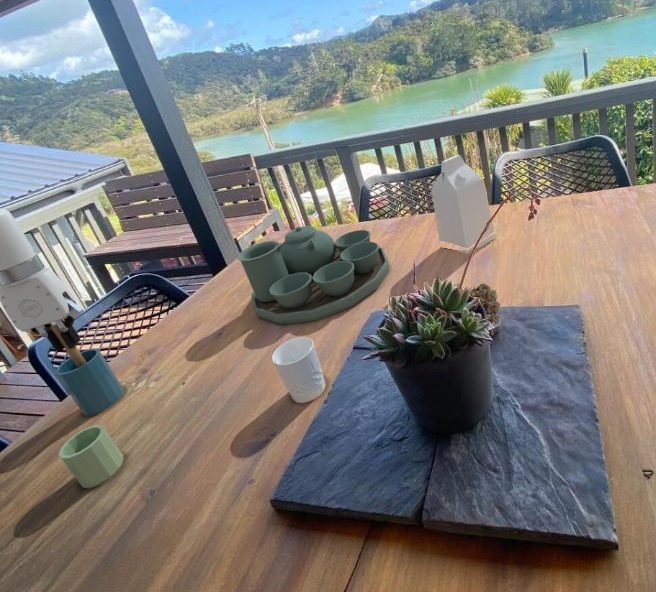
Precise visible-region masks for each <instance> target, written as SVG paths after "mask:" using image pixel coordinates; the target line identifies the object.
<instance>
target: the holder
mask: <svg viewBox="0 0 656 592" xmlns="http://www.w3.org/2000/svg"><path fill="white" fill-rule="evenodd" d="M58 457H59V459H60V460H61V462H62V463H63V464H64V465H65V466H66V467H67V469H68V471H69V472H70V473H71V474H72V476H73V477H74V479H75V480H76V481H77V482H78V484H79V485H80V486H81V487H82V488H84V489H89V488H94V487H96V486H99V485H100V484H102V483H104V482H105V481H108V479H110V478H111V477H112V476H113V475H115V473H116V472H117V471H118V470H119V469H120V468H121V466H122V464H123V462H124V455H123V453H122V452H121V450H120V448H119V447H118V445H117V444H116V443H115V441H114V440H113V438H112V437H111V434H109V432H108V431H107V429H106V428H105V427H104V426H103V425H101V424H94V425H93V424H92V425H91V426H87V427H85V428H83V429H81V430H80V431H78V432H77V433H74V434H73V435H72V436H71V437H70V438H69V439H67V440H66V441H65V442H64V443H63V445H62V446H61V447H60V449H59V452H58Z"/></svg>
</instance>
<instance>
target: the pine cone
mask: <svg viewBox="0 0 656 592" xmlns="http://www.w3.org/2000/svg"><path fill="white" fill-rule="evenodd" d="M496 290H497V289H492V287H491V286H490V285H488V284H486V283H484V282H483V283H479V285H478V286H477V287H476V286H473V288H471V289H470V290H469V292H470V295H471V296H472V297H479V298H480V302H481V304H482V305H483V307H484V308H485V311H486V314H487V317H488V320H489V321H490V322H491V324H492V323H493V322H495V320H497V323H498V322H500V318H501V317H500V315H499V314H498V312H499V311H500V310H501V307H500V306H501V303H500V302H499V301H498V296H499V295H498V294H497V291H496ZM494 332H495V331H494ZM494 332H493V328H492V330H491V335H492V336H494V334H495V333H494Z"/></svg>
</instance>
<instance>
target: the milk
mask: <svg viewBox="0 0 656 592" xmlns="http://www.w3.org/2000/svg"><path fill="white" fill-rule="evenodd" d="M440 169H441V170H440V174H439V175H438V177H437V178H436V179H435V181H434V182H433V184H432V186H431V198H432V203H433V210H434V216H435V222H436V228H437V233H438V239H439V240H440V241H444V242H448V243H452V244H455V245H458V246H461V247H465V248H469V247H470V246H472V245H473V244H475V243H476V241H477V240H478V238H479V236H480V234H481V232H482V230H483V229H484V228H485V226H486V223H487V222H488V221H489V219H490V218H491V217H492V214H491V209H490V204H489V201H488V195H487V192H486V191H487V190H486V187H485V184H484V180H483V178H482V177H481V175H480V174H479V173H478V172H476V171H475V170H474V169H473V168H471V166H469V165H468V163H466V161H465V160H464V158H463V157H462V155H461V154H456V155H453V156H452V157H451V156H450V158H447V159H444V160H443V161H441V167H440ZM493 232H495V234H493V235H492V236H490V237H489V238H487V239H485V238H486V237H488V236H489V235H490V234H492V233H493ZM484 237H485V238H484ZM483 238H484V239H485V240H484V241H482V240H483ZM496 238H497V235H496V231H495V227H494V222H493V221H492V222H491V224H490V226H489V228H488V230H487V231H486V233H485V234H484V236H483V237H482V240H481V242H480V243H479V246H478V247H477V249H476V250H479V249H481V248H482V247H484V246H485V245H487V244H489V243H490V242H492V241H494V240H496ZM440 241H439V242H440ZM472 249H473V247H472V248H471V249H469V250H468V251H466V250H462V251H461V250H460V249H459V250H460V251H457V252H458V253H462V254H465V255H468V254H470V253H472V252H473V251H472ZM471 251H472V252H471ZM469 252H470V253H469Z"/></svg>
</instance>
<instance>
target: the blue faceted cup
mask: <svg viewBox="0 0 656 592" xmlns="http://www.w3.org/2000/svg"><path fill="white" fill-rule="evenodd" d="M80 353H81V354H82V356H83V357H84V359H85V361H86V362H87V363H86V364H85V365H83V366H81V367H79V368H77V366H76V365H75V363H74V362H73V360H72V359H71V357H69V358H67V359H66V360H64V361H63V362H62V363H60V365H59V366H58V367H57V368H56V370H55V374H56V376H57V378H58V379H59V381H60V382H61V383H62V385H63V386H64V388H65V390H66V391H67V392H68V394H69V395H70V396H71V398H72V400H73V401H74V402H75V404H76V405H77V408H79V410H80V411H81V412H82V414H83V415H84V416H91V415H96V414H98V413H101V412H103V411H105V410H106V409H108V408H110V407H111V406H113V405H114V404H115V403H116V402H117V401H118V400H120V398H121V397H122V396H123V394H124V388H123V386H122V384H121V383H120V381H119V379H118V378H117V376H116V375H115V373H114V371H113V370H112V368H111V366H110V365H109V363H108V362H107V360H106V359H105V357H104V355H103V354H102V352H101V350H100V349H99V348H89V349H85V350H82V351H80Z"/></svg>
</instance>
